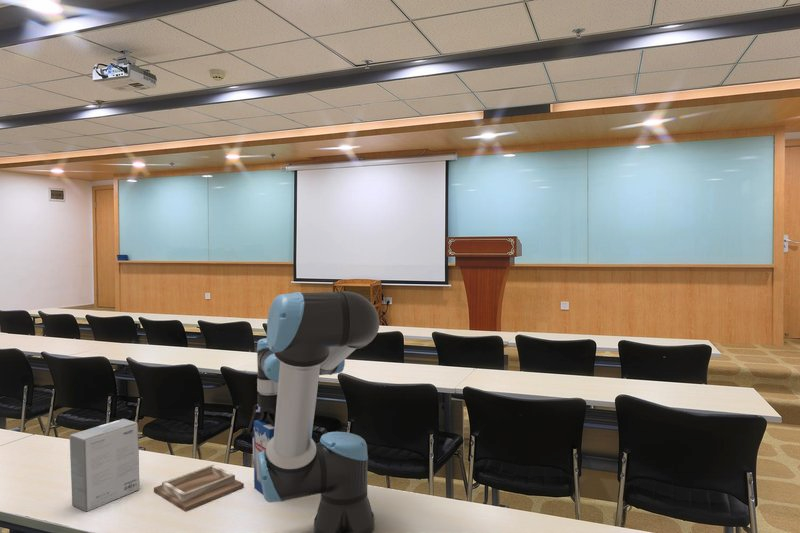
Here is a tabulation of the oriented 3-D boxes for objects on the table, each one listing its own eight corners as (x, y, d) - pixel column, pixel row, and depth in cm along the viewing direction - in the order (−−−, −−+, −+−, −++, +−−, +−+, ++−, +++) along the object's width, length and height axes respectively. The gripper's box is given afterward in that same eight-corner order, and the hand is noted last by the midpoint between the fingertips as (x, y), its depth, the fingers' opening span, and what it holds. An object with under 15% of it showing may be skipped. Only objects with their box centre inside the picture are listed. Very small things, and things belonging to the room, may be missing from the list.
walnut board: (243, 487, 150) (243, 476, 150) (185, 511, 136) (185, 499, 136) (210, 471, 161) (210, 461, 161) (153, 491, 147) (153, 480, 147)
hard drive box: (125, 483, 152) (124, 418, 152) (140, 489, 148) (139, 422, 148) (70, 505, 139) (68, 433, 138) (85, 513, 135) (84, 439, 135)
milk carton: (289, 493, 146) (289, 424, 145) (269, 500, 142) (269, 429, 141) (273, 481, 153) (272, 416, 153) (254, 488, 149) (253, 420, 149)
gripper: (309, 396, 142) (309, 471, 143) (256, 382, 158) (256, 449, 158) (287, 402, 136) (288, 480, 137) (234, 387, 152) (235, 457, 152)
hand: (271, 464), depth 148 cm, fingers open, 13 cm apart
